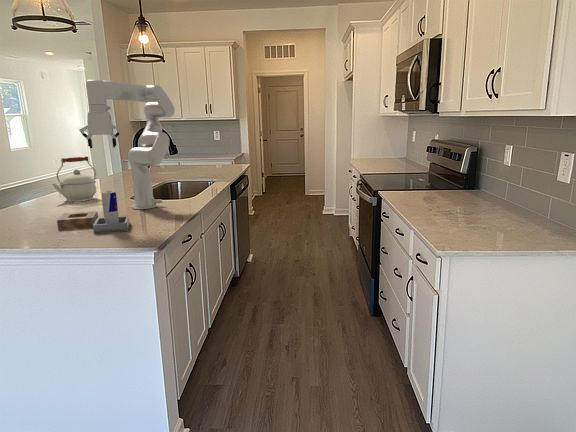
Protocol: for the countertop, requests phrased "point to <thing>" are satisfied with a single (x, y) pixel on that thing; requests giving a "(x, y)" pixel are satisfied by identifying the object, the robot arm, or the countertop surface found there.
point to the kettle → (76, 183)
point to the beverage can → (110, 207)
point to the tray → (111, 225)
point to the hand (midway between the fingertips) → (102, 147)
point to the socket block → (77, 220)
